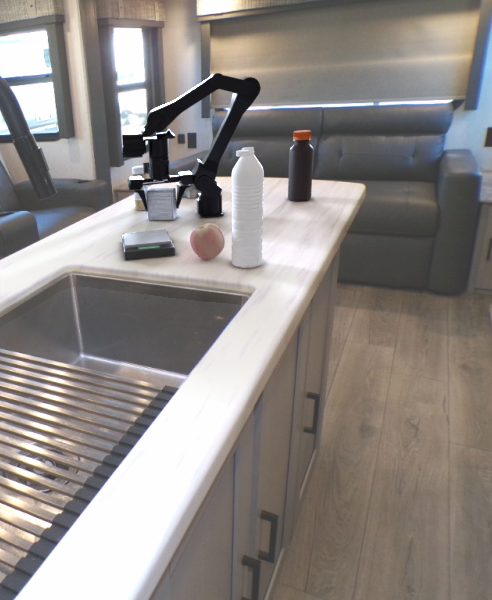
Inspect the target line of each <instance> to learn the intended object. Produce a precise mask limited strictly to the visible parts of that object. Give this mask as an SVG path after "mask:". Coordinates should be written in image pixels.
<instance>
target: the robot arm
mask: <svg viewBox="0 0 492 600" xmlns="http://www.w3.org/2000/svg"><path fill="white" fill-rule="evenodd" d="M261 89H262V87H261V84H260V81H259V80H258V79H257V78H256V77H252V76H243V77H240V78H237V77H233V76H229V75H225V74H222V73H221V72H214V73H212V74H211V75H210V76H209V77H207V78H206V79H204V80H203V81H201V82H199V83H198V84H197V85H195V86H194V87H192V88H191V89H189V90H188V91H186V92H185V93H183V94H182V95H180V96H179V97H177V98H176V99H174V100H172V101H170V102H167V103H165V104H162V105H160V106H157V107H154V108H152V109H151V110H150V111H148V113H147V116H146V123H145V125H144V127H143V128H142V129H141V132H138V133H137V132H136V133H135V132H134V133H122V134H121V139H122V146H121V151H122V159H123V160H128V159H141V158H143V156H144V155H145V154H147V148H148V159H149V161H148V162H142V165H143V172H144V174H146V175H149V177H147V179H142V178H141V176H136V177H133V176H129V177H128V178H127V188H128V190H129V191H133V194H134V193H138V194H139V196H140V198H141V199H142V202H143V204H144V207H145V209H146V210H145V212H146V213H148V207H147V202H146V196H145V191H144V188H143V185H148V186H151V185H163V184H172V183H176V206H177V210H178V209H179V208H180V205H181V201H182V200H183V199H182V198H183V197H182V196H183V194H184V192H185V190H186V188H188V187H190V185H189V184H194V186H195V187H196V189H198V190H199V191H201V192H202V193H199V194H198V195H199V196H198V198H196V213H197V214H198V215H199V217H200V218H201V219H207V218H215V217H223V216H224V213H223V193H222V192H223V188H222V187H221V186H220V184H219V182H218V181H216V178H217V175H218V171H219V166H220V162H221V159H222V158H223V156H224V154H225V152H226V150H227V148H228V146H229V144H230V142H231V140H232V137H233V135H234V133H235V131H236V130H237V127H238V125H239V124H240V121H241V119H242V117H244V115H245V113H246V112H247V110H249V108H250V107H251V106H252V105H253V104H254V102H255V101H256V99H257V97H258V96H259V95H260V92H261ZM217 90H221V91H226V92H230V93H232V94H231V99H230V103H229V108H228V110H227V112H226V114H225V116H224V118H223V121H222V122H221V124H220V127H219V129H218V131H217V132H216V134H215V137H214V139H213V141H212V143H211V145H210V147H209V149H208V151H207V153H206V155H205V156H204V158H203V159H202V160H200V159H199V158H197V159H196V162H195V164H194V167H193V169H191V171H190V170H186V171H178V172H177V174H176V175H171V163H170V161H171V160H170V144H169V141H170V139H171V140H172V139H175V138H176V135H175V134H174V133H173V132H172V131H171V130H170V128H168V126H170V125H171V124H172V123H173V122H174V121H175V120H176V119H177V118H178V117H179V116H180V115H181V114H182V113H183V112H186V111H187V110H188V109H190V108H191V107H193V106H194V105H196V104H197V103H199V102H201V101H203V99H206V98H207V97H209V95H211V94H213V93H215V92H216V91H217ZM166 128H168V129H167V130H166V131H164V130H165V129H166ZM163 131H164V132H163ZM153 134H155V136H152V135H153ZM147 146H148V147H147Z"/></svg>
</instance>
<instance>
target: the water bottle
mask: <svg viewBox="0 0 492 600" xmlns="http://www.w3.org/2000/svg"><path fill="white" fill-rule="evenodd" d="M235 157H237V158H238V157H239V158H238V160H237V161H236V163H235V165H234V166H233V168H232V169H231V170H232V171H231V177H230V178H231V264H232V265H233V266H234V267H237V268H242V269H248V268H249V269H252V268H253V269H254V268H256V267H259V266H261V265H262V263H263V232H264V231H263V230H264V228H263V225H264V218H263V217H264V177H265V171H264V167H263V165H262V164H261V162H260V161H259V159H258V158H257V157H256V155H255V147H254V146H246V147H245V146H244V147H242V148H241V149H238V150H236V151H235Z"/></svg>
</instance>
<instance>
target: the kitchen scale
mask: <svg viewBox="0 0 492 600" xmlns="http://www.w3.org/2000/svg"><path fill="white" fill-rule="evenodd" d="M121 244H122V251H123V257H124V261H133V260H141V259H142V260H143V259H155V258H162V257H173V256H176V248H175V245H174V243H173V240H172V237H171V236H170V234H169V232H168V230H166V228H165V229H164V228H163V229H154V230H143V231H135V232H124V233H123V235H121Z"/></svg>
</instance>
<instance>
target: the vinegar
mask: <svg viewBox="0 0 492 600" xmlns="http://www.w3.org/2000/svg"><path fill="white" fill-rule="evenodd" d="M292 135H293V136H292V142H293V145H292V146H291V147H290V148H289V152H288V153H289V154H288V157H289V158H288V179H287V180H288V181H287V182H288V183H287V184H288V185H287V186H288V187H287V199H288V200H289V201H291V202H292V201H293V202H305V201H309V200H311V198H312V191H313V190H312V189H313V188H312V186H313V171H314V170H313V167H314V151H315V149H314V147H313V146H312V145H311V139H312V130H310V129H300V130H295V131H293V134H292Z"/></svg>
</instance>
